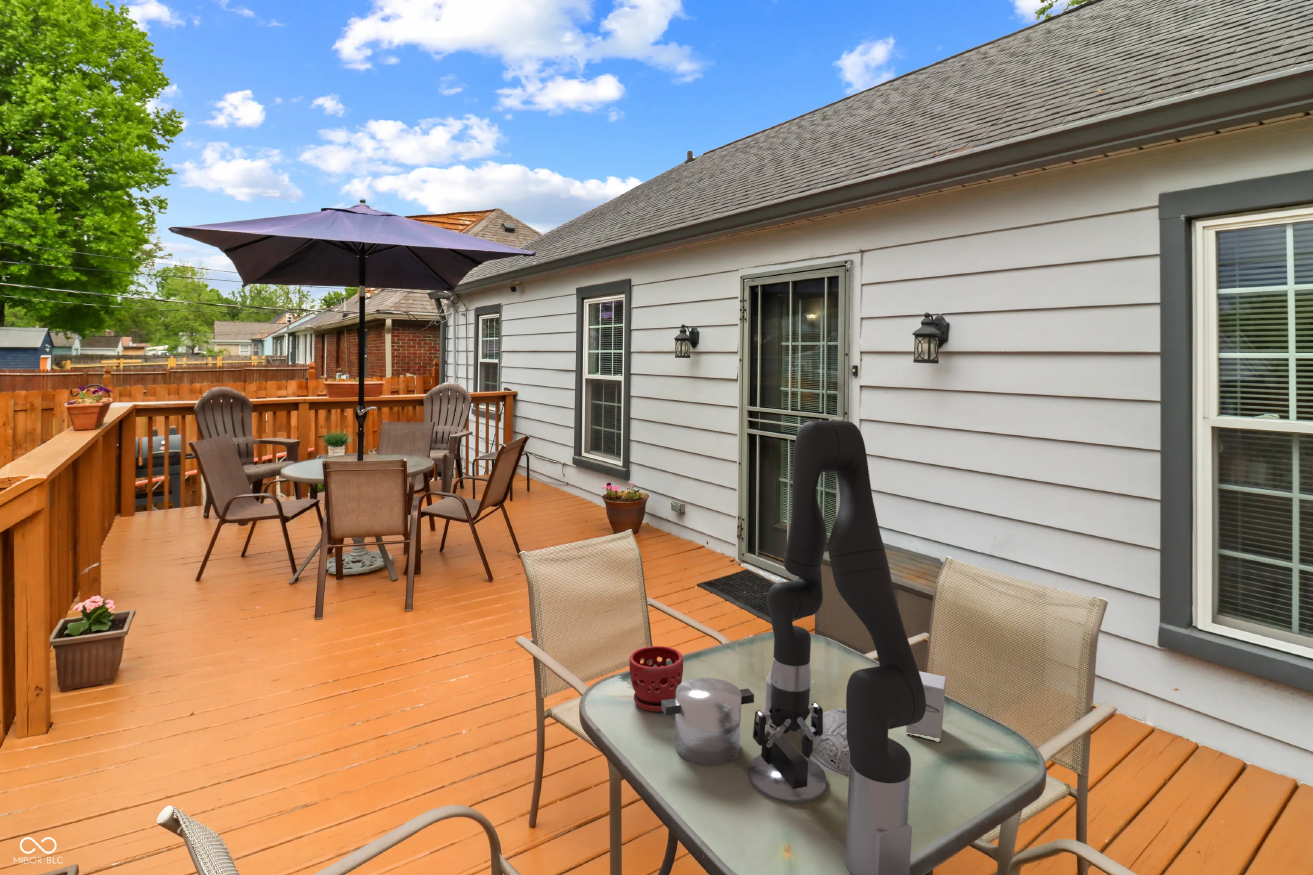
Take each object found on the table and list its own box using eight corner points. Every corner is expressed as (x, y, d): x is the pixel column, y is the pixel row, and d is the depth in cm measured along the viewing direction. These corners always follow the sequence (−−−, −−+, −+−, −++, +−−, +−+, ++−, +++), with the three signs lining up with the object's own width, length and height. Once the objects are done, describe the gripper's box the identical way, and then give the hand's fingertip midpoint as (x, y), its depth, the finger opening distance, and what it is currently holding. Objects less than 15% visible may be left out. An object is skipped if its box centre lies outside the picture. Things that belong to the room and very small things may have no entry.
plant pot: (660, 685, 165) (661, 640, 164) (693, 706, 155) (694, 658, 154) (618, 699, 157) (619, 652, 156) (650, 722, 147) (651, 672, 146)
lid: (841, 796, 122) (843, 763, 121) (770, 811, 117) (772, 776, 117) (800, 753, 136) (802, 723, 136) (736, 764, 132) (737, 733, 131)
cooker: (764, 756, 134) (766, 701, 133) (673, 772, 128) (674, 715, 127) (736, 722, 147) (737, 672, 146) (652, 735, 141) (653, 683, 140)
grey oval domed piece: (803, 768, 130) (808, 736, 130) (807, 714, 154) (811, 687, 154) (882, 790, 126) (888, 757, 126) (874, 731, 150) (879, 704, 150)
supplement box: (905, 735, 144) (908, 680, 143) (909, 720, 150) (911, 668, 149) (940, 744, 140) (944, 688, 139) (943, 728, 147) (946, 675, 146)
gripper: (766, 694, 120) (763, 776, 121) (832, 684, 124) (828, 764, 125) (749, 676, 127) (746, 753, 128) (812, 667, 131) (808, 743, 133)
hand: (786, 758), depth 127 cm, fingers open, 8 cm apart
